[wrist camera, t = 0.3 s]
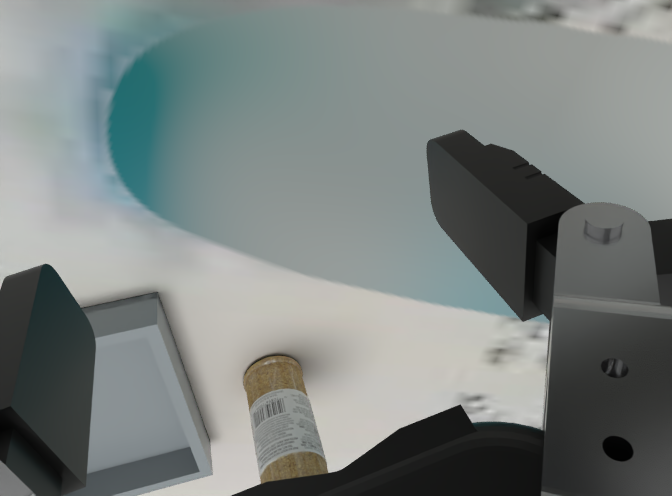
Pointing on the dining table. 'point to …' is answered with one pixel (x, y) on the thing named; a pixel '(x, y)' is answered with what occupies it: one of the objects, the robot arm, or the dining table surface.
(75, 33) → the dining table surface
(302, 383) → the sprinkles bottle
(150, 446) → the box
